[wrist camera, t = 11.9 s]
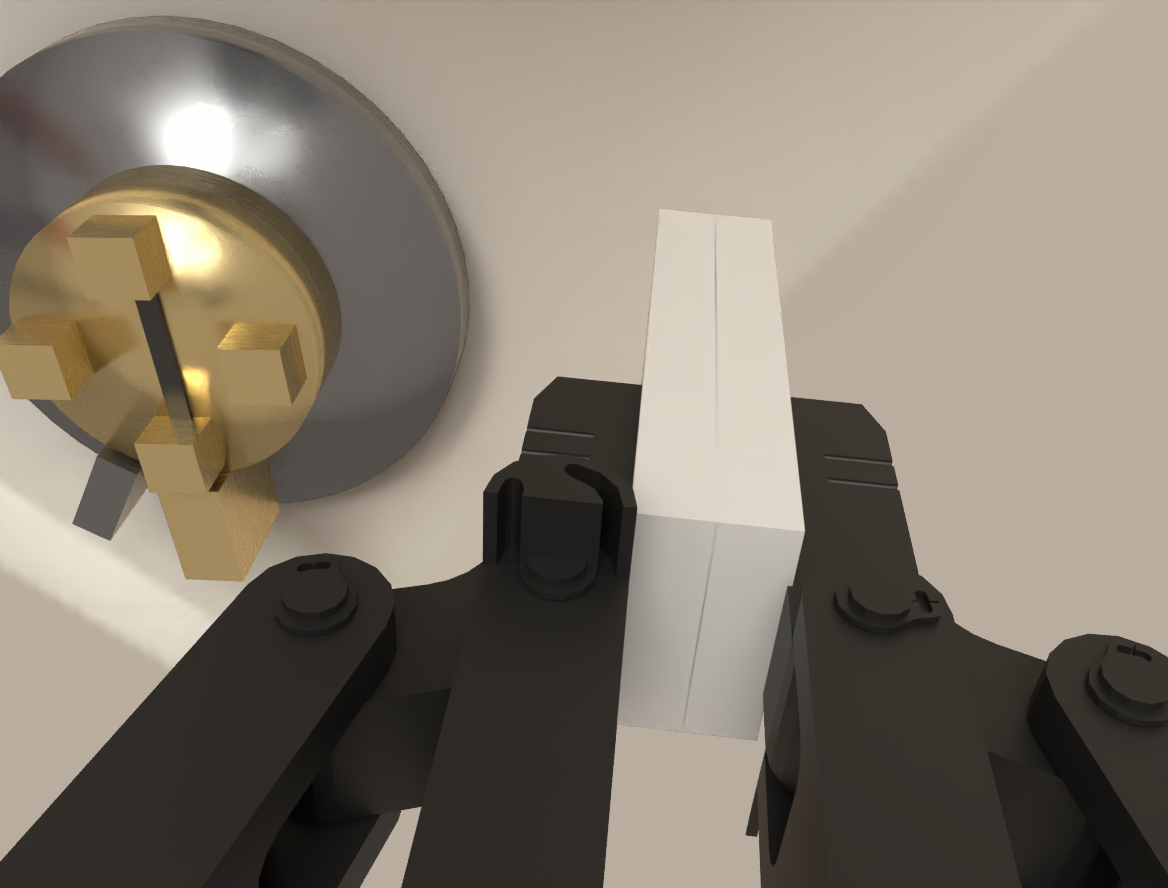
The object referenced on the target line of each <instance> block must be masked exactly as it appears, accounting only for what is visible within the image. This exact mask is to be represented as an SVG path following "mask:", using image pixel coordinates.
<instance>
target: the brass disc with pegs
mask: <svg viewBox="0 0 1168 888" xmlns="http://www.w3.org/2000/svg"><path fill="white" fill-rule="evenodd" d="M9 312H10V318H11V324H12V326H11V327H9V328H8V329H7V330H6V331H5V332H4V333H3V334H2V335H1V336H0V369H1V371H2V374H3V376H4V379H5V381H6V384H7V387H8V389H9V392H10V394H11V397H12V399H40V400H51V401H52V402H53V403H54V404H55V405H56V406H57V407H58V408H59V409H60V410H61V411H62V412H63V413H64V414H65V415H66V416H67V417H68V418H69V419H70V420H72V421H73V422H74V423H75V424H76V425H77V426H79V427H80V428H81V429H83V430H84V431H85V432H87V433H88V434H89V435H91V436H92V437H94V438H96V439H97V440H99V441H100V442H102V443H104V444H105V445H107V446H108V447H110V448H112V449H114V450H116V451H118V452H120V453H122V454H124V455H126V456H129V457H131V458H134V459H137V460H139V461H140V464H141V467H142V470H143V473H144V476H145V479H146V482H147V485H148V488H149V491H150V492H158V494H159V497H160V501H161V504H162V507H163V510H164V513H165V516H166V519H167V522H168V525H169V529H170V532H171V535H172V538H173V541H174V544H175V547H176V550H177V553H178V557H179V560H180V563H181V566H182V569H183V572H184V575H185V578H186V579H198V580H222V581H244V579H245V577H246V575H247V573H248V571H249V569H250V567H251V566H252V564H253V562H254V560H255V558H256V556H257V554H258V552H259V550H260V548H261V546H262V544H263V542H264V540H265V538H266V536H267V534H268V533H269V531H270V529H271V527H272V525H273V523H274V521H275V519H276V517H277V515H278V513H279V511H280V507H279V503H278V499H277V495H276V491H275V487H274V482H273V478H272V474H271V470H270V466H269V462H268V458H267V457H269V456H271V455H272V454H274V453H276V452H277V451H278V450H280V449H281V448H282V447H283V446H284V445H285V444H287V443H288V442H289V441H290V440H291V438H292V437H293V436H294V435H295V434H296V432H297V431H298V430H299V428H300V427H301V425H302V423H303V421H304V420H305V418H306V416H307V414H308V413H309V411H310V409H311V407H312V405H313V403H314V402H315V400H316V398H317V396H318V394H319V392H320V391H321V389H322V387H323V385H324V383H325V381H326V380H327V378H328V376H329V374H330V372H331V370H332V368H333V366H334V364H335V361H336V358H337V356H338V352H339V347H340V342H341V333H342V318H341V309H340V303H339V299H338V295H337V291H336V288H335V285H334V282H333V280H332V277H331V275H330V272H329V270H328V268H327V266H326V265H325V263H324V261H323V259H322V257H321V255H320V254H319V252H318V251H317V249H316V248H315V247H314V245H313V244H312V242H311V241H310V239H309V238H308V237H307V236H306V235H305V233H304V232H303V231H302V230H301V229H300V228H299V227H298V226H297V224H296V223H295V222H294V221H293V220H291V219H290V218H289V217H288V216H287V215H286V214H285V213H284V212H283V211H282V210H281V209H279V208H278V207H277V206H275V205H274V204H273V203H271V202H270V201H269V200H267V199H266V198H264V197H263V196H262V195H260V194H258V193H257V192H255V191H253V190H251V189H250V188H248V187H246V186H244V185H243V184H240V183H238V182H236V181H234V180H231V179H229V178H227V177H225V176H222V175H218V174H215V173H212V172H209V171H206V170H202V169H197V168H192V167H186V166H176V165H152V166H142V167H138V168H133V169H128V170H125V171H122V172H120V173H117V174H114V175H112V176H110V177H108V178H106V179H104V180H103V181H101V182H99V183H98V184H96V185H95V186H94V187H92V188H91V189H90V190H89V191H88V192H86V193H85V194H84V195H83V196H82V197H80V198H79V199H78V200H77V201H75V202H74V203H73V204H72V205H71V206H69V207H68V208H67V209H66V210H65V211H63V212H62V213H61V214H60V215H59V216H57V217H56V218H55V219H54V220H53V221H51V222H50V223H49V224H48V225H47V226H45V227H44V228H43V229H42V230H41V231H39V232H38V233H37V234H36V235H35V236H34V237H33V238H32V240H31V241H30V242H29V243H28V244H27V246H26V247H25V248H24V250H23V252H22V254H21V255H20V257H19V259H18V261H17V263H16V266H15V269H14V272H13V275H12V279H11V286H10V292H9Z"/></svg>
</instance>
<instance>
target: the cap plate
mask: <svg viewBox="0 0 1168 888" xmlns="http://www.w3.org/2000/svg"><path fill="white" fill-rule="evenodd" d="M152 165H176V166H186V167H192V168H197V169H202V170H206V171H209V172H212V173H215V174H218V175H222V176H225V177H227V178H229V179H231V180H234V181H236V182H238V183H240V184H243V185H244V186H246V187H248V188H250V189H251V190H253V191H255V192H257V193H258V194H260V195H262V196H263V197H264V198H266V199H267V200H269V201H270V202H271V203H273V204H274V205H275V206H277V207H278V208H279V209H281V210H282V211H283V212H284V213H285V214H286V215H287V216H288V217H289V218H290V219H291V220H293V221H294V222H295V223H296V224H297V226H298V227H299V228H300V229H301V230H302V231H303V232H304V233H305V235H306V236H307V237H308V238H309V239H310V241H311V242H312V244H313V245H314V247H315V248H316V249H317V251H318V252H319V254H320V255H321V257H322V259H323V261H324V263H325V265H326V266H327V268H328V270H329V272H330V275H331V277H332V280H333V282H334V285H335V288H336V291H337V295H338V299H339V303H340V309H341V318H342V333H341V342H340V347H339V352H338V356H337V358H336V361H335V364H334V366H333V368H332V370H331V372H330V374H329V376H328V378H327V380H326V381H325V383H324V385H323V387H322V389H321V391H320V392H319V394H318V396H317V398H316V400H315V402H314V403H313V405H312V407H311V409H310V411H309V413H308V414H307V416H306V418H305V420H304V421H303V423H302V425H301V427H300V428H299V430H298V431H297V432H296V434H295V435H294V436H293V437H292V438H291V440H290V441H289V442H288V443H287V444H285V445H284V446H283V447H282V448H281V449H280V450H278V451H277V452H276V453H274V454H272V455H271V456H269V457H267V458H268V462H269V466H270V470H271V474H272V478H273V482H274V487H275V491H276V495H277V499H278V503H279V504H282V503H291V502H300V501H308V500H312V499H316V498H321V497H325V496H329V495H333V494H336V493H339V492H342V491H344V490H347V489H350V488H352V487H355V486H358V485H360V484H362V483H364V482H365V481H367V480H369V479H371V478H373V477H375V476H377V475H378V474H380V473H382V472H383V471H385V470H386V469H387V468H389V467H390V466H391V465H393V464H394V463H395V462H397V461H398V460H399V459H401V458H402V457H403V456H404V455H405V454H406V453H407V452H408V451H409V450H410V449H411V448H412V447H413V446H414V445H415V444H416V443H417V442H418V441H419V440H420V439H421V438H422V436H423V435H424V433H425V432H426V431H427V429H428V428H429V426H430V425H431V424H432V422H433V421H434V419H435V418H436V416H437V414H438V412H439V410H440V408H441V406H442V404H443V402H444V400H445V398H446V396H447V394H448V391H449V388H450V385H451V383H452V380H453V377H454V375H455V372H456V369H457V366H458V363H459V360H460V356H461V353H462V350H463V346H464V343H465V338H466V331H467V324H468V317H469V284H468V277H467V270H466V264H465V257H464V252H463V249H462V245H461V242H460V238H459V235H458V232H457V228H456V225H455V222H454V220H453V217H452V215H451V213H450V210H449V208H448V206H447V204H446V201H445V199H444V197H443V194H442V192H441V190H440V189H439V187H438V185H437V184H436V182H435V180H434V178H433V177H432V175H431V173H430V172H429V170H428V168H427V167H426V165H425V163H424V162H423V160H422V159H421V157H420V156H419V155H418V154H417V152H416V151H415V150H414V148H413V147H412V146H411V144H410V143H409V142H408V140H407V139H406V138H405V137H404V135H403V134H402V133H401V131H400V130H399V129H398V128H397V127H396V126H395V125H394V124H393V123H392V122H391V121H390V120H389V119H388V118H387V117H386V116H385V115H384V114H383V113H382V112H381V111H380V110H379V109H378V107H377V106H376V105H375V104H374V103H372V102H371V101H370V100H369V99H367V98H366V97H365V96H364V95H363V94H361V93H360V92H359V91H358V90H357V89H355V88H354V87H353V86H352V85H351V84H349V83H348V82H347V81H346V80H344V79H343V78H342V77H340V76H338V75H337V74H335V73H334V72H332V71H331V70H329V69H328V68H326V67H325V66H323V65H322V64H320V63H318V62H317V61H315V60H314V59H312V58H311V57H309V56H307V55H305V54H303V53H301V52H299V51H297V50H295V49H293V48H291V47H289V46H286V45H284V44H282V43H280V42H278V41H276V40H274V39H271V38H268V37H265V36H263V35H260V34H257V33H254V32H251V31H249V30H246V29H243V28H240V27H236V26H232V25H227V24H223V23H218V22H214V21H209V20H204V19H197V18H185V17H173V16H153V17H135V18H126V19H122V20H117V21H112V22H107V23H103V24H98V25H95V26H92V27H89V28H87V29H84V30H82V31H79V32H77V33H74V34H71V35H69V36H66V37H64V38H63V39H61V40H59V41H57V42H55V43H54V44H52V45H50V46H48V47H47V48H45V49H43V50H41V51H39V52H38V53H36V54H34V55H33V56H31V57H29V58H28V59H26V60H24V61H23V62H21V63H19V64H18V65H16V66H15V67H13V68H11V69H10V70H9V71H7V72H6V73H5V74H4V75H3V76H2V77H1V78H0V336H1V335H2V334H3V333H4V332H5V331H6V330H7V329H8V328H9V327H11V326H12V324H11V318H10V312H9V292H10V286H11V279H12V275H13V272H14V269H15V266H16V263H17V261H18V259H19V257H20V255H21V254H22V252H23V250H24V248H25V247H26V246H27V244H28V243H29V242H30V241H31V240H32V238H33V237H34V236H35V235H36V234H37V233H38V232H39V231H41V230H42V229H43V228H44V227H45V226H47V225H48V224H49V223H50V222H51V221H53V220H54V219H55V218H56V217H57V216H59V215H60V214H61V213H62V212H63V211H65V210H66V209H67V208H68V207H69V206H71V205H72V204H73V203H74V202H75V201H77V200H78V199H79V198H80V197H82V196H83V195H84V194H85V193H86V192H88V191H89V190H90V189H91V188H92V187H94V186H95V185H96V184H98V183H99V182H101V181H103V180H104V179H106V178H108V177H110V176H112V175H114V174H117V173H120V172H122V171H125V170H128V169H133V168H138V167H142V166H152ZM29 400H30V401H31V402H32V403H33V404H34V405H35V406H36V407H37V408H38V409H39V410H40V411H42V412H43V413H44V414H45V415H46V416H47V417H48V418H49V419H50V420H51V421H52V422H54V423H55V424H56V425H58V426H59V427H60V428H61V429H63V430H64V431H65V432H67V433H68V434H69V435H70V436H72V437H73V438H74V439H76V440H77V441H78V442H80V443H81V444H83V445H85V446H86V447H88V448H89V449H91V450H92V451H94V452H95V453H97V454H99V455H98V456H97V458H96V461H95V464H94V466H93V469H92V472H91V474H90V477H89V480H88V483H87V485H86V488H85V491H84V493H83V496H82V499H81V502H80V504H79V507H78V510H77V512H76V515H75V518H74V521H73V523H72V524H74V525H76V526H78V527H81V528H83V529H85V530H87V531H90V532H92V533H94V534H96V535H98V536H101V537H103V538H105V539H107V540H110V541H111V539H112V538H113V536H114V535H115V534H116V532H117V531H118V529H119V528H120V526H121V525H122V523H123V522H124V521H125V519H126V518H127V516H128V515H129V513H130V512H131V510H132V509H133V508H134V506H135V505H136V503H137V502H138V500H139V499H140V497H141V496H142V495H143V493H144V492H145V490H146V489H147V487H148V485H147V482H146V479H145V476H144V473H143V470H142V467H141V464H140V461H139V460H137V459H134V458H131V457H129V456H126V455H124V454H122V453H120V452H118V451H116V450H114V449H112V448H110V447H108V446H107V445H105V444H104V443H102V442H100V441H99V440H97V439H96V438H94V437H92V436H91V435H89V434H88V433H87V432H85V431H84V430H83V429H81V428H80V427H79V426H77V425H76V424H75V423H74V422H73V421H72V420H70V419H69V418H68V417H67V416H66V415H65V414H64V413H63V412H62V411H61V410H60V409H59V408H58V407H57V406H56V405H55V404H54V403H53V402H52V401H51V400H40V399H29Z"/></svg>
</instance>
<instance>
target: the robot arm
mask: <svg viewBox="0 0 1168 888" xmlns="http://www.w3.org/2000/svg"><path fill="white" fill-rule="evenodd" d="M897 487H898V482H897V478H896V474H895V469H894V466H892V457H891V452H890V448H889V443H888V439H887V435H886V431H885V430H884V429H883V428H882V427H881V426H880V424H879V423H877V421H876V420H875V419H874V418H873V417H872V415H871V414H870V413H869V412H868V411H867V410H866V409H865V408H864V406H863V405H862V404H852V403H843V402H833V401H824V400H814V399H804V398H794V397H790V390H789V380H788V371H787V362H786V353H785V345H784V335H783V326H782V317H781V307H780V298H779V289H778V280H777V271H776V262H775V252H774V243H773V234H772V225H771V220H769V219H759V218H748V217H738V216H727V215H716V214H706V213H695V212H685V211H674V210H664V209H660V212H659V221H658V231H657V240H656V249H655V259H654V268H653V278H652V287H651V296H650V306H649V315H648V325H647V334H646V343H645V353H644V362H643V371H642V381H641V385H636V384H626V383H616V382H606V381H597V380H587V379H577V378H567V377H557V378H555V379H554V380H553V381H552V382H551V383H550V384H549V385H548V386H547V387H546V388H545V389H544V390H543V391H542V392H541V393H540V394H538V395H537V396H536V397H535V398H534V401H533V405H532V409H531V413H530V417H529V421H528V425H527V432H526V434H525V438H524V442H523V446H522V453H521V454H520V458H519V461H515V462H513V463H511V464H510V465H508V466H507V467H505V468H504V469H502V470H500V471H499V472H497V473H496V474H494V475H493V477H492V479H491V480H490V482H489V483H488V485H487V487H486V488H485V490H484V492H483V562H482V563H480V564H479V565H477V566H476V567H475V568H473V569H472V570H470V571H469V572H467V573H464V574H462V575H459V576H457V577H455V578H452V579H450V580H446V581H442V582H437V583H432V584H428V585H421V586H413V587H405V588H397V589H392V588H391V584H390V583H389V582H388V581H387V579H386V578H385V577H384V576H383V575H382V574H381V572H380V571H379V570H378V569H377V568H376V567H374V566H372V565H369V564H367V563H365V562H363V561H361V560H359V559H357V558H355V557H350V556H342V555H335V554H328V553H324V554H316V555H308V556H299V557H295V558H292V559H290V560H287V561H285V562H282V563H280V564H277V565H274V566H272V567H269V568H268V569H267V570H266V571H264V572H263V573H262V574H260V575H259V576H258V577H257V578H255V579H254V580H253V581H252V582H250V583H249V584H248V585H247V586H246V587H245V588H244V589H243V590H242V592H241V593H240V594H239V595H238V596H237V597H236V598H235V599H234V601H233V602H232V603H231V604H230V605H229V606H228V607H227V608H226V609H225V611H224V612H223V613H222V614H221V615H220V616H219V617H218V618H217V620H216V621H215V622H214V623H213V624H212V625H211V626H210V627H209V629H208V630H207V631H206V632H205V633H204V634H203V635H202V636H201V637H200V639H199V640H198V641H197V642H196V643H195V644H194V645H193V646H192V648H191V649H190V650H189V651H188V652H187V653H186V654H185V655H184V657H183V658H182V659H181V660H180V661H179V662H178V663H177V664H176V665H175V667H174V668H173V669H172V670H171V671H170V672H169V673H168V674H167V676H166V677H165V678H164V679H163V680H162V681H161V682H160V683H159V685H158V686H157V687H156V688H155V689H154V690H153V691H152V692H151V693H150V695H149V696H148V697H147V698H146V699H145V700H144V701H143V702H142V704H141V705H140V706H139V707H138V708H137V709H136V710H135V711H134V713H133V714H132V715H131V716H130V717H129V718H128V719H127V720H126V722H125V723H124V724H123V725H122V726H121V727H120V728H119V729H118V730H117V732H116V733H115V734H114V735H113V736H112V737H111V738H110V740H109V741H108V742H107V743H106V744H105V745H104V746H103V747H102V748H101V749H100V751H99V752H98V753H97V754H96V755H95V756H94V757H93V758H92V760H91V761H90V762H89V763H88V764H87V765H86V766H85V767H84V769H83V770H82V771H81V772H80V773H79V774H78V775H77V776H76V777H75V779H74V780H73V781H72V782H71V783H70V784H69V785H68V786H67V788H66V789H65V790H64V791H63V792H62V793H61V794H60V795H59V796H58V798H57V799H56V800H55V801H54V802H53V803H52V804H51V805H50V807H49V808H48V809H47V810H46V811H45V812H44V813H43V814H42V816H41V817H40V818H39V819H38V820H37V821H36V822H35V823H34V824H33V826H32V827H31V828H30V829H29V830H28V831H27V832H26V833H25V835H24V836H23V837H22V838H21V839H20V840H19V841H18V842H17V843H16V845H15V846H14V847H13V848H12V849H11V850H10V851H9V852H8V854H7V855H6V856H5V857H4V858H3V859H2V860H1V861H0V888H360V886H361V884H362V883H363V881H364V879H365V877H366V875H367V874H368V872H369V870H370V869H371V867H372V865H373V863H374V862H375V860H376V858H377V856H378V855H379V853H380V851H381V849H382V848H383V846H384V844H385V842H386V841H387V839H388V837H389V835H390V834H391V832H392V830H393V828H394V827H395V825H396V823H397V821H398V819H399V816H400V813H401V810H405V809H411V808H417V807H422V808H421V812H420V816H419V819H418V824H417V827H416V831H415V835H414V839H413V843H412V847H411V851H410V855H409V859H408V863H407V867H406V871H405V875H404V879H403V883H402V887H401V888H603V881H604V869H605V858H606V846H607V835H608V834H607V833H608V823H609V812H610V800H611V788H612V777H613V765H614V753H615V742H616V730H617V725H625V726H634V727H642V728H652V729H660V730H668V731H677V732H686V733H694V734H703V735H712V736H720V737H730V738H738V739H747V740H756V741H757V738H758V733H759V729H760V724H761V720H762V716H763V712H764V725H765V744H766V749H765V753H764V758H763V762H762V766H761V770H760V774H759V779H758V783H757V787H756V791H755V795H754V799H753V803H752V808H751V812H750V816H749V821H748V826H747V831H746V835H747V836H756V837H757V834H758V830H759V849H760V875H761V888H1168V657H1166V656H1165V655H1163V654H1161V653H1160V652H1158V651H1156V650H1154V649H1153V648H1151V647H1149V646H1146V645H1143V644H1140V643H1137V642H1134V641H1131V640H1128V639H1125V638H1122V637H1119V636H1110V635H1097V634H1086V635H1082V636H1078V637H1074V638H1070V639H1066V640H1064V641H1063V642H1062V643H1061V644H1059V645H1058V646H1057V647H1056V648H1055V649H1054V650H1053V651H1052V652H1051V653H1050V654H1049V656H1048V659H1047V661H1044V660H1041V659H1038V658H1035V657H1032V656H1029V655H1027V654H1023V653H1021V652H1018V651H1014V650H1012V649H1009V648H1006V647H1003V646H1000V645H997V644H995V643H993V642H990V641H988V640H986V639H983V638H981V637H979V636H976V635H974V634H972V633H970V632H969V631H967V630H965V629H964V628H962V627H961V626H959V625H958V624H956V623H955V622H954V618H953V614H952V612H951V610H950V609H949V607H948V605H947V603H946V601H945V599H944V597H943V595H942V594H941V593H940V592H939V591H938V590H937V589H936V588H934V587H933V586H932V585H931V584H930V583H929V582H928V581H927V580H926V579H924V578H923V577H922V576H920V575H919V574H918V569H917V565H916V561H915V556H914V553H913V548H912V543H911V539H910V534H909V530H908V526H907V521H906V518H905V513H904V508H903V505H902V500H901V495H900V491H899V490H897Z"/></svg>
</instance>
